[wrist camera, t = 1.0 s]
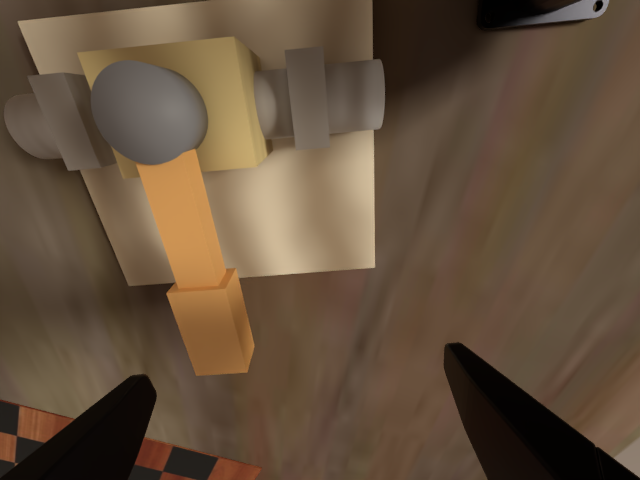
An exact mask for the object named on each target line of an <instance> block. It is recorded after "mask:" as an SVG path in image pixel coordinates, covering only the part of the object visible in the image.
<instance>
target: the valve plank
mask: <svg viewBox="0 0 640 480" xmlns="http://www.w3.org/2000/svg"><path fill="white" fill-rule="evenodd" d="M17 22H18V24H19V27H20V29H21V32H22V34H23V36H24V39H25V41H26V43H27V46H28V48H29V51H30V53H31V55H32V58H33V60H34V62H35V65H36V67H37V70H38V72H39V74H40V75H32V76H27V78H28V80H29V83H30V85H31V87H32V89H33V92H34V93H30V94H20V95H15V96H13V97H11V98H10V99H9V100H8V101H7V102H6V104H5V107H4V120H5V123H6V126H7V129H8V131H9V133H10V134H11V136H12V138H13V139H14V140H15V141H16V143H17V144H18V145H19V146H20V147H21V148H22V149H24V150H25V151H26V152H28V153H29V154H31V155H33V156H35V157H37V158H41V159H58V158H63V160H64V162H65V165H66V167H67V169H68V171H72V170H80V171H81V174H82V176H83V179H84V181H85V183H86V186H87V188H88V190H89V193H90V195H91V198H92V200H93V202H94V205H95V207H96V209H97V212H98V214H99V217H100V219H101V221H102V224H103V226H104V228H105V231H106V233H107V236H108V238H109V240H110V243H111V245H112V247H113V250H114V252H115V254H116V257H117V259H118V262H119V264H120V266H121V269H122V271H123V273H124V276H125V278H126V281H127V283H128V285H129V286H138V285H151V284H164V283H175V282H176V280H175V277H174V274H173V271H172V269H171V266H170V263H169V260H168V257H167V254H166V251H165V248H164V245H163V242H162V239H161V236H160V233H159V230H158V227H157V224H156V221H155V219H154V216H153V213H152V210H151V207H150V204H149V201H148V198H147V195H146V192H145V189H144V186H143V183H142V180H141V177H140V174H139V172H138V169H137V166H136V163H135V161H133V160H130V159H128V158H126V157H125V156H123V155H122V154H120V153H119V152H117V151H116V150H115V149H114V148H113V147H112V146H111V145H110V144H109V143H108V142H107V141H106V140H105V138H104V137H103V136H102V134H101V133H100V131H99V129H98V127H97V125H96V123H95V120H94V117H93V114H92V109H91V91H92V86H93V84H94V81H95V79H96V77H97V76H98V74H99V73H100V72H101V71H102V70H103V69H104V68H105V67H107V66H108V65H110V64H112V63H115V62H118V61H123V60H133V61H139V62H143V63H147V64H151V65H155V66H159V67H164V68H167V69H171V70H173V71H176V72H178V73H179V74H181V75H183V76H184V77H185V78H187V79H188V80H189V81H190V82H191V83H192V84H193V85H194V86H195V87H196V88H197V90H198V91H199V93H200V94H201V96H202V98H203V100H204V103H205V105H206V109H207V114H208V129H207V133H206V136H205V138H204V140H203V142H202V143H201V145H200V146H199V147H198V148H197V149H196V154H197V158H198V162H199V166H200V170H201V174H202V178H203V182H204V185H205V189H206V193H207V197H208V201H209V205H210V209H211V213H212V217H213V221H214V225H215V229H216V233H217V237H218V241H219V245H220V249H221V253H222V257H223V261H224V265H225V269H228V268H236V269H237V274H238V278H243V277H256V276H269V275H283V274H296V273H309V272H322V271H335V270H349V269H362V268H375V223H374V130H376V129H380V128H381V126H382V123H383V117H384V108H385V79H384V70H383V65H382V62H381V60H380V59H374V60H373V10H372V0H210V1H201V2H192V3H183V4H173V5H164V6H155V7H145V8H136V9H127V10H117V11H108V12H99V13H89V14H80V15H71V16H61V17H52V18H43V19H33V20H24V21H17Z"/></svg>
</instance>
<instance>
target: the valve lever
mask: <svg viewBox="0 0 640 480" xmlns="http://www.w3.org/2000/svg"><path fill="white" fill-rule="evenodd" d="M91 109H92V114H93V117H94V120H95V123H96V125H97V127H98V129H99V131H100V133H101V134H102V136H103V137H104V138H105V140H106V141H107V142H108V143H109V144H110V145H111V146H112V147H113V148H114V149H115V150H116V151H117V152H119V153H120V154H122V155H123V156H125V157H126V158H128V159H130V160H133V161H135V163H136V166H137V169H138V172H139V174H140V177H141V180H142V183H143V186H144V189H145V192H146V195H147V198H148V201H149V204H150V207H151V210H152V213H153V216H154V219H155V221H156V224H157V227H158V230H159V233H160V236H161V239H162V242H163V245H164V248H165V251H166V254H167V257H168V260H169V263H170V266H171V269H172V271H173V274H174V277H175V280H176V282H175V283H174V284H173V286H172V287H171V288H170V289H169V291H168V292H167V293H166V294H167V297H168V299H169V302H170V305H171V308H172V310H173V313H174V316H175V319H176V321H177V324H178V327H179V330H180V332H181V335H182V338H183V341H184V343H185V346H186V349H187V352H188V354H189V357H190V360H191V363H192V365H193V368H194V371H195V374H196V376H200V375H216V374H231V373H246V372H248V368H249V364H250V360H251V357H252V353H253V349H254V342H253V338H252V333H251V329H250V325H249V320H248V316H247V312H246V308H245V303H244V299H243V295H242V291H241V286H240V282H239V278H238V274H237V269H236V268H228V269H225V265H224V261H223V257H222V253H221V249H220V245H219V241H218V237H217V233H216V229H215V225H214V221H213V217H212V213H211V209H210V205H209V201H208V197H207V193H206V189H205V185H204V182H203V178H202V174H201V170H200V166H199V162H198V158H197V154H196V149H197V148H198V147H199V146H200V145H201V143H202V142H203V140H204V138H205V136H206V133H207V129H208V114H207V109H206V105H205V103H204V100H203V98H202V96H201V94H200V93H199V91H198V90H197V88H196V87H195V86H194V85H193V84H192V83H191V82H190V81H189V80H188V79H187V78H185V77H184V76H183V75H181V74H179V73H178V72H176V71H173V70H171V69H167V68H164V67H159V66H155V65H151V64H147V63H143V62H139V61H133V60H123V61H118V62H115V63H112V64H110V65H108V66H107V67H105V68H104V69H103V70H102V71H101V72H100V73H99V74H98V76H97V77H96V79H95V81H94V84H93V86H92V91H91Z"/></svg>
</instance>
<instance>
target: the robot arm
mask: <svg viewBox="0 0 640 480" xmlns="http://www.w3.org/2000/svg"><path fill="white" fill-rule="evenodd" d="M594 3H596V5H597V7H596V10H595V11H593V5H594ZM608 3H609V0H479V5H478V14H477V25H478V27H479V28H480V29H481V30H492V29H502V28H512V27H522V26H532V25H541V24H551V23H561V22H571V21H581V20H589V19H593V18H596V17H599V16H600V15H602V14H603V13H604V11H605V10H606V8H607V6H608ZM487 13H489V14H490V15H491V21H490V22H489V23H487V22H486V20H485V17H486V14H487ZM444 370H445V374H446V376H447V379H448V382H449V385H450V388H451V391H452V394H453V397H454V400H455V403H456V406H457V409H458V411H459V414H460V417H461V420H462V423H463V426H464V428H465V431H466V433H467V435H468V438H469V440H470V442H471V444H472V446H473V448H474V451H475V453H476V455H477V457H478V459H479V462H480V464H481V466H482V468H483V470H484V472H485V475H486V477H487V479H488V480H640V478H639V477H638V476H637V475H635V474H634V473H632V472H631V471H630V470H628V469H627V468H626V467H624V466H623V465H622V464H620V463H619V462H617V461H616V460H615V459H614V458H612V457H611V456H610V455H608V454H607V453H606V452H604V451H603V450H602V449H600V448H599V447H595V445H594V443H592V442H591V441H590V440H588V439H587V438H586V437H584V436H583V435H582V434H580V433H579V432H578V431H577V430H575V429H574V428H573V427H571V426H570V425H569V424H567V423H566V422H565V421H563V420H562V419H561V418H559V417H558V416H557V415H555V414H554V413H553V412H551V411H550V410H549V409H547V408H546V407H545V406H544V405H542V404H541V403H540V402H538V401H537V400H536V399H534V398H533V397H532V396H530V395H529V394H528V393H526V392H525V391H524V390H522V389H521V388H520V387H518V386H517V385H516V384H515V383H513V382H512V381H511V380H509V379H508V378H507V377H505V376H504V375H503V374H501V373H500V372H499V371H497V370H496V369H495V368H493V367H492V366H491V365H489V364H488V363H487V362H486V361H484V360H483V359H482V358H480V357H479V356H478V355H476V354H475V353H474V352H472V351H471V350H470V349H468V348H467V347H466V346H464V345H463V344H462V343H459V342H457V343H447V344H446V345H445V349H444ZM156 397H157V394H156V390H155V388H154V387H153V385H152V383H151V381H150V379H149V377H148V376H147V375H146V374H139V375H132V376H130V377H129V378H127V379H126V380H125V381H123V382H122V383H121V384H120V385H118V386H117V387H116V388H114V389H113V390H112V391H111V392H109V393H108V394H107V395H105V396H104V397H103V398H102V399H100V400H99V401H98V402H97V403H95V404H94V405H93V406H91V407H90V408H89V409H88V410H86V411H85V412H84V413H82V414H81V415H80V416H79V417H77V418H76V419H75V420H73V421H72V422H71V423H70V424H68V425H67V426H66V427H65V428H63V429H62V430H61V431H59V432H58V433H57V434H56V435H54V436H53V437H52V438H50V439H49V440H48V441H47V442H45V443H44V444H43V445H41V446H40V447H39V448H38V449H36V450H35V451H34V452H32V453H31V454H30V455H29V456H27V457H26V458H25V459H24V460H22V461H21V462H20V463H18V464H17V465H16V466H15V467H13V468H12V469H11V470H9V471H8V472H7V473H6V474H4V475H3V476H2V477H0V480H128V479H129V476H130V474H131V471H132V469H133V467H134V464H135V462H136V459H137V457H138V454H139V451H140V448H141V446H142V442H143V439H144V436H145V433H146V430H147V427H148V424H149V421H150V418H151V415H152V411H153V408H154V405H155V402H156Z"/></svg>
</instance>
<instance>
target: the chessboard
mask: <svg viewBox="0 0 640 480" xmlns="http://www.w3.org/2000/svg"><path fill="white" fill-rule="evenodd" d="M73 420H75V419H73V418H69V417H65V416H61V415H58V414H54V413H50V412H46V411H42V410H38V409H34V408H31V407H27V406H23V405H19V404H15V403H11V402H8V401H4V400H0V477H2V476H3V475H4V474H6V473H7V472H8V471H9V470H11V469H12V468H13V467H15V466H16V465H17V464H18V463H20V462H21V461H22V460H24V459H25V458H26V457H27V456H29V455H30V454H31V453H32V452H34V451H35V450H36V449H38V448H39V447H40V446H41V445H43V444H44V443H45V442H47V441H48V440H49V439H50V438H52V437H53V436H54V435H56V434H57V433H58V432H59V431H61V430H62V429H63V428H65V427H66V426H67V425H68V424H70V423H71V422H72V421H73ZM261 469H262V468H261V467H258V466H254V465H250V464H246V463H242V462H238V461H234V460H231V459H227V458H223V457H219V456H215V455H211V454H208V453H204V452H200V451H196V450H192V449H188V448H184V447H181V446H177V445H173V444H169V443H165V442H161V441H158V440H154V439H150V438H146V437H144V439H143V442H142V446H141V448H140V451H139V454H138V457H137V459H136V462H135V464H134V467H133V469H132V471H131V474H130V476H129V479H128V480H255V479H256V477H257V475H258V474H259V472H260V471H261Z"/></svg>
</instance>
